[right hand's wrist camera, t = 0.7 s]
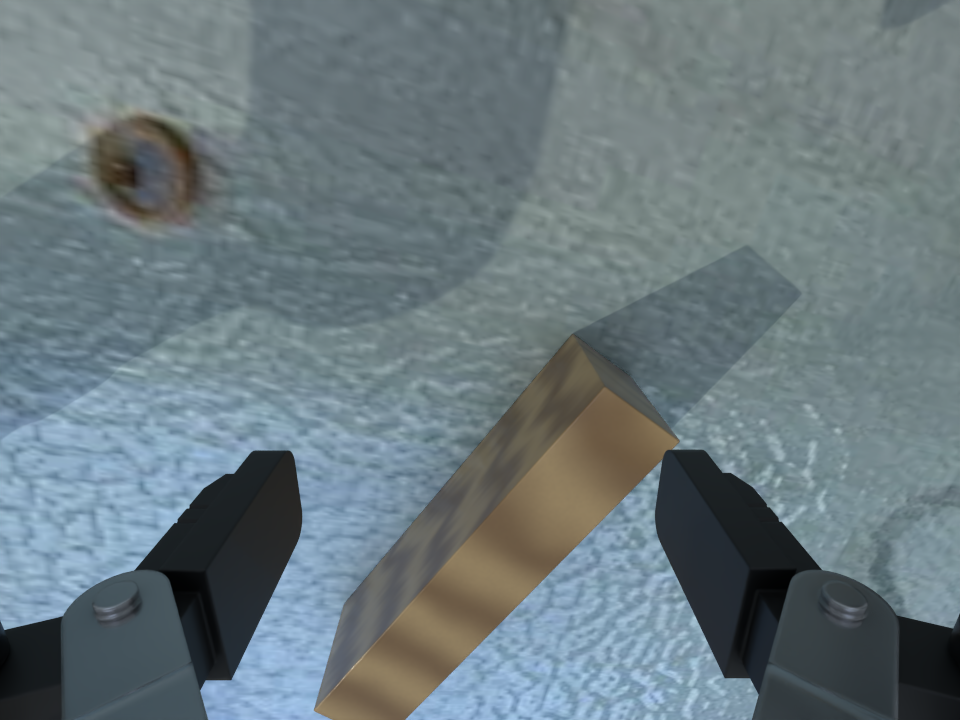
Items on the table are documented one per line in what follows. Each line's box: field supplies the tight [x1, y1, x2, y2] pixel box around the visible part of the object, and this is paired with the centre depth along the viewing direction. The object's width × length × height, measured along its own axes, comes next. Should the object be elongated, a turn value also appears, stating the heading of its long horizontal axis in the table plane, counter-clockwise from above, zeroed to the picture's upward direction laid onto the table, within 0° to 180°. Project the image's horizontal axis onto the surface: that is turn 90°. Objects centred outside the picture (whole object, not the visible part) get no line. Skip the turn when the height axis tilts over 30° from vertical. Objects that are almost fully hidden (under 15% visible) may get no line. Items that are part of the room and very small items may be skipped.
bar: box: [314, 334, 679, 720], centre depth 33 cm, size 27×5×8 cm, turn 143°
